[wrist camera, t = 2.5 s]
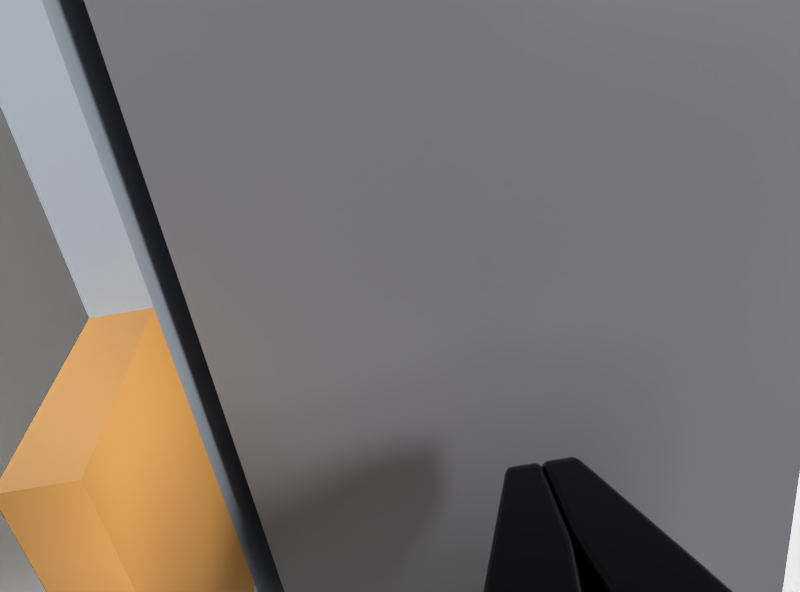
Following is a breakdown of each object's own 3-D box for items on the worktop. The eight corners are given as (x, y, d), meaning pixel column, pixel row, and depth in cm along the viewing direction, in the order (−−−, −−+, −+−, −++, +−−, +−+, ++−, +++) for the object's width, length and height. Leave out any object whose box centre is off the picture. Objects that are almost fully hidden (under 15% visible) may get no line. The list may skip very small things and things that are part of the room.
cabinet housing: (665, 512, 19) (764, 706, 14) (344, 565, 19) (346, 774, 14) (691, -409, 10) (957, -619, 6) (106, -305, 10) (-63, -435, 6)
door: (332, 577, 18) (330, 979, 12) (291, 584, 18) (266, 989, 12) (108, -197, 11) (-283, -315, 4) (38, -185, 11) (-476, -284, 4)
